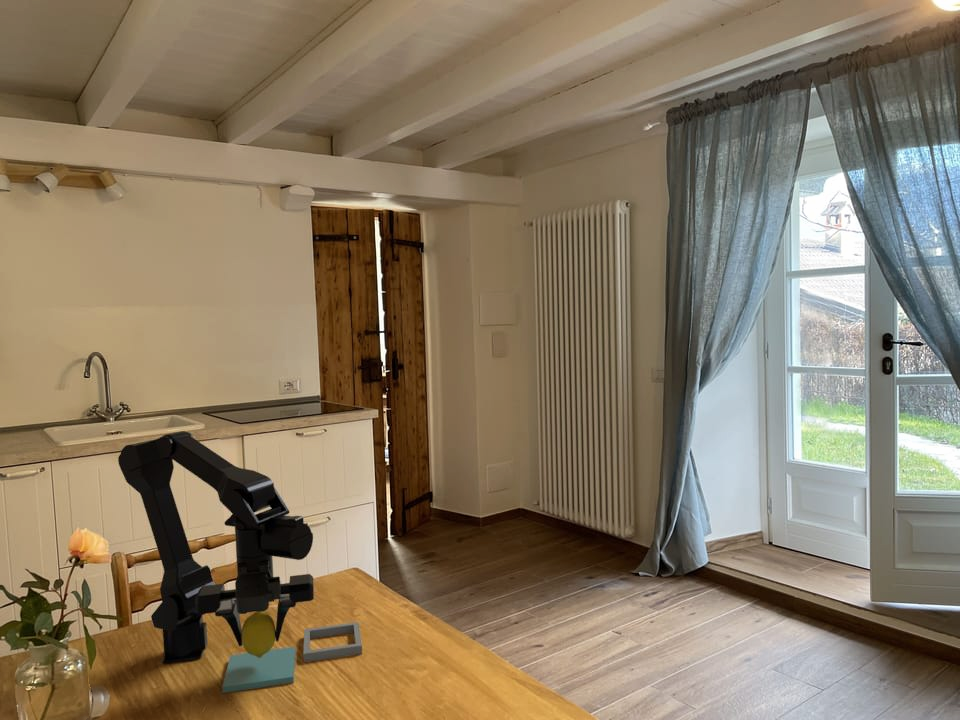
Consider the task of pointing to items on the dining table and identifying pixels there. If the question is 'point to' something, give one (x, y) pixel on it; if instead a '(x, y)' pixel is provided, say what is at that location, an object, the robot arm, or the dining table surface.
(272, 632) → the lemon
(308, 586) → the robot arm
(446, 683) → the dining table surface
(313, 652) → the holder
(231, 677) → the tile
